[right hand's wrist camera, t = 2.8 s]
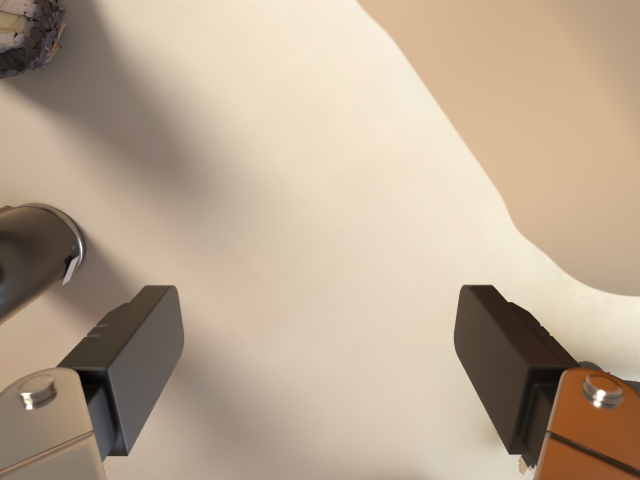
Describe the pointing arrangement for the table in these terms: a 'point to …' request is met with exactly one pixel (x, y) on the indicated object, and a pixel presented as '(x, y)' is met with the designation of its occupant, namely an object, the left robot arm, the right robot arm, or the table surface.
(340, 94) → the table surface
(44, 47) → the miniature building
